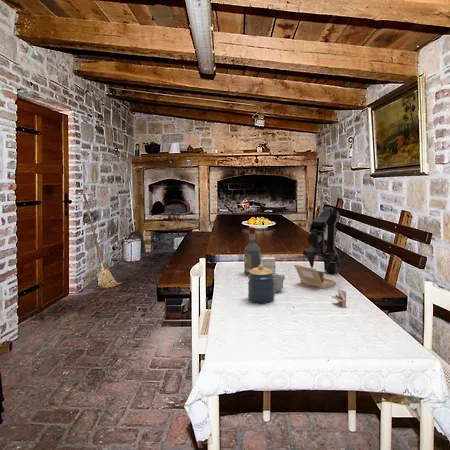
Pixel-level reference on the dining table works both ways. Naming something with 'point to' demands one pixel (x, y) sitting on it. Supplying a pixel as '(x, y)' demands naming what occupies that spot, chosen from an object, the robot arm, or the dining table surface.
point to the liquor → (251, 253)
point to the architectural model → (341, 297)
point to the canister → (261, 285)
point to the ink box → (269, 263)
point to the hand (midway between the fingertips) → (318, 269)
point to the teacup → (278, 282)
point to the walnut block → (321, 275)
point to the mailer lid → (308, 274)
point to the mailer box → (325, 284)
